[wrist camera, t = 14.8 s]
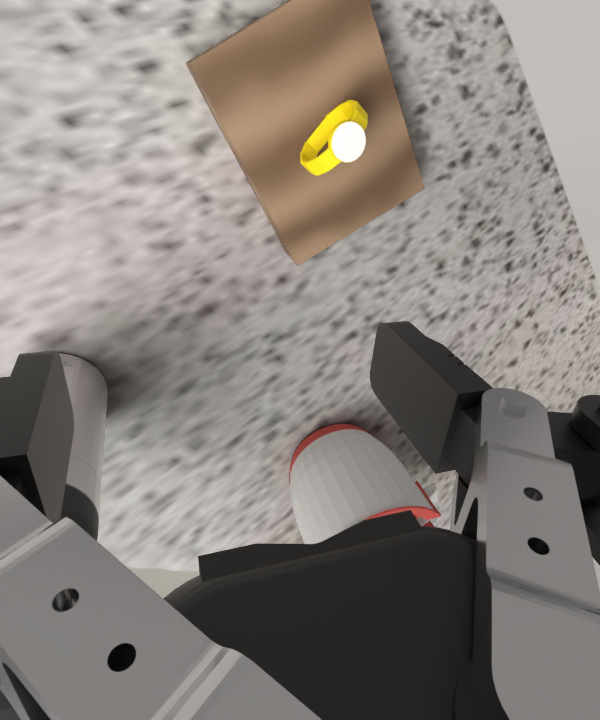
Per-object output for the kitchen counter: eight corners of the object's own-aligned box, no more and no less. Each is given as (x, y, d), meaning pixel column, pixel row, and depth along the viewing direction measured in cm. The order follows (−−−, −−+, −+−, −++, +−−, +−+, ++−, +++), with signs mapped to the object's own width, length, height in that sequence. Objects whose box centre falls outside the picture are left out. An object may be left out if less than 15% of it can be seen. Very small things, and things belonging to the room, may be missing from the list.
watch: (331, 92, 37) (365, 90, 33) (353, 118, 39) (389, 119, 34) (285, 154, 38) (311, 161, 33) (308, 177, 40) (336, 186, 35)
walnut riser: (404, 180, 47) (424, 188, 44) (286, 252, 47) (297, 265, 44) (337, -30, 37) (357, -40, 33) (185, 63, 37) (190, 62, 33)
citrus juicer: (400, 463, 69) (482, 583, 53) (293, 512, 68) (344, 650, 52) (383, 386, 61) (476, 501, 44) (260, 439, 59) (309, 579, 43)
